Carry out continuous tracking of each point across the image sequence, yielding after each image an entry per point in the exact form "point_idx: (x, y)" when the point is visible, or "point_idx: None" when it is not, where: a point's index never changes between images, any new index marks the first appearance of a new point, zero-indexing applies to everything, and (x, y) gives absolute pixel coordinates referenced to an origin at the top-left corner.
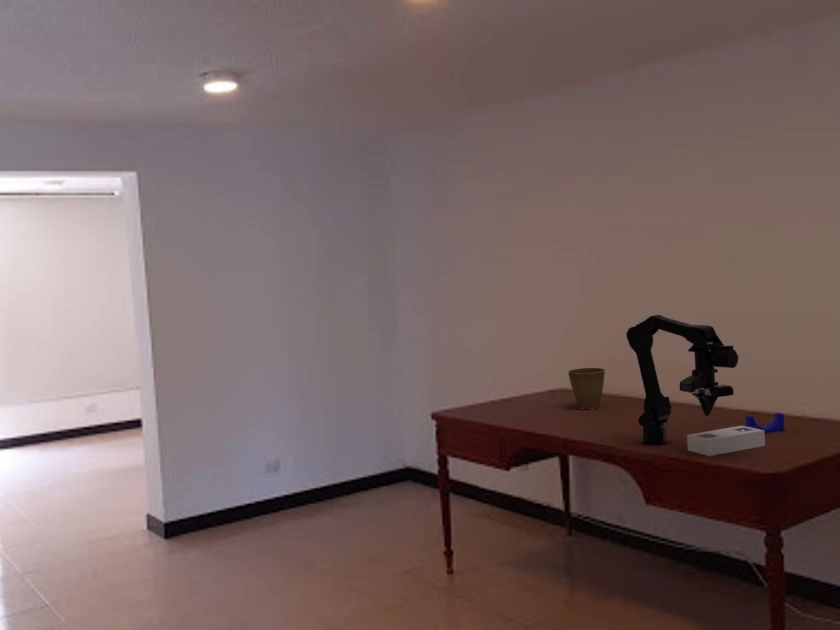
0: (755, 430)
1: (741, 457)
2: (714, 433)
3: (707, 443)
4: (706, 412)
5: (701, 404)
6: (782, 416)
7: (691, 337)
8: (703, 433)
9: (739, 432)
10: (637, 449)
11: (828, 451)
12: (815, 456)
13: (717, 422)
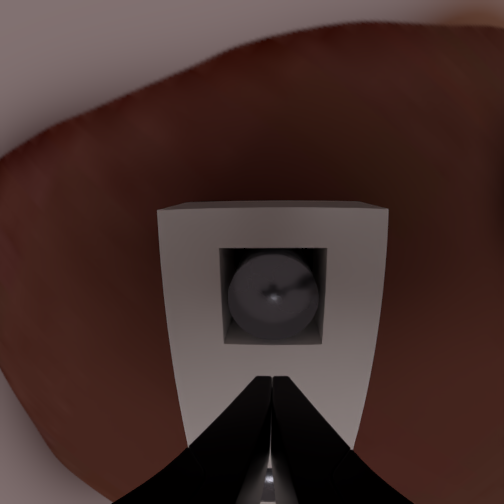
0: None
1: (100, 298)
2: (297, 368)
3: (176, 207)
4: (243, 394)
5: (333, 460)
6: None
7: None
8: (347, 321)
9: None
10: (488, 58)
11: (86, 480)
12: (49, 434)
13: (500, 482)
